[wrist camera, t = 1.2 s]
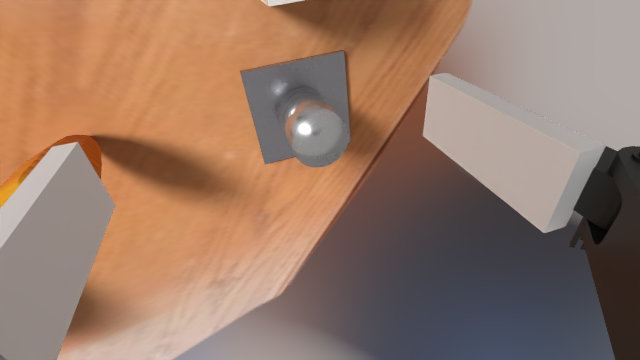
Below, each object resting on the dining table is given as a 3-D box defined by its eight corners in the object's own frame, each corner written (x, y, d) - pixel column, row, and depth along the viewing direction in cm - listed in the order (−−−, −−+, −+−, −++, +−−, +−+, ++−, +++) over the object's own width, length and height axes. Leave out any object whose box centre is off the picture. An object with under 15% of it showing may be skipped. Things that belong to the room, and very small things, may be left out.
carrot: (105, 107, 28) (30, 215, 16) (129, 156, 31) (81, 277, 19) (42, 119, 27) (-87, 241, 15) (73, 167, 30) (-14, 302, 18)
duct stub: (240, 71, 29) (248, 99, 23) (342, 50, 31) (374, 71, 25) (264, 161, 35) (275, 202, 29) (348, 139, 37) (376, 174, 31)
